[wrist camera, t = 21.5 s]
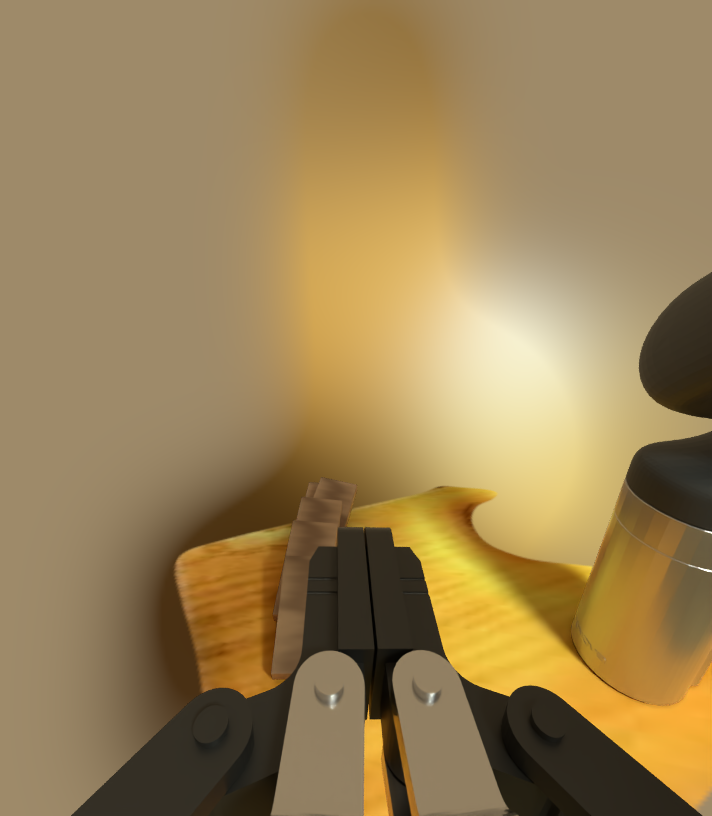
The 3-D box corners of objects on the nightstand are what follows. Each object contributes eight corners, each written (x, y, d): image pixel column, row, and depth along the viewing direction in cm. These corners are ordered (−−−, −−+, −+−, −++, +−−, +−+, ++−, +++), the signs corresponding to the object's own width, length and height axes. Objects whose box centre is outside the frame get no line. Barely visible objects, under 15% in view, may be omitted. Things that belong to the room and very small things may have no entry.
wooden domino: (337, 558, 46) (356, 492, 53) (337, 550, 45) (357, 484, 52) (296, 548, 46) (321, 484, 54) (296, 540, 45) (321, 477, 53)
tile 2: (326, 625, 37) (337, 531, 45) (325, 619, 36) (337, 523, 44) (274, 620, 37) (294, 527, 45) (272, 614, 36) (293, 519, 44)
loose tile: (332, 679, 33) (334, 564, 40) (333, 673, 32) (335, 556, 39) (272, 679, 32) (286, 563, 40) (271, 673, 31) (285, 555, 39)
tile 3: (331, 588, 41) (341, 508, 49) (330, 581, 40) (342, 500, 48) (284, 583, 42) (302, 504, 49) (283, 576, 40) (301, 496, 48)
